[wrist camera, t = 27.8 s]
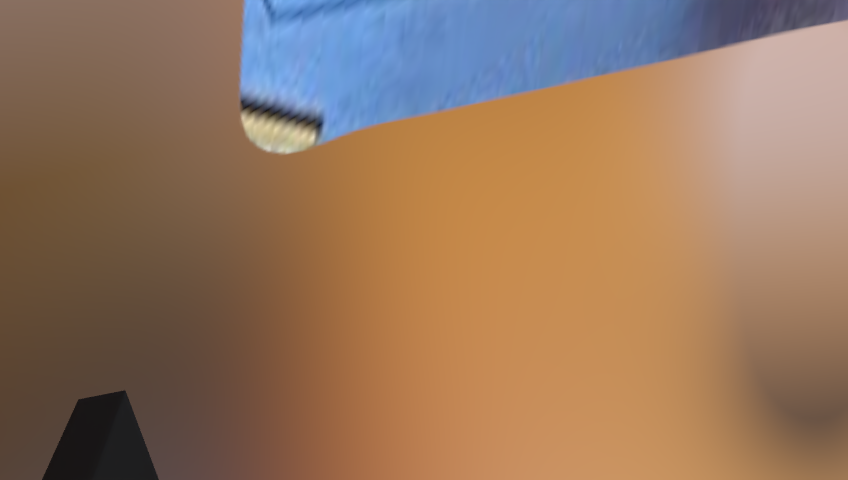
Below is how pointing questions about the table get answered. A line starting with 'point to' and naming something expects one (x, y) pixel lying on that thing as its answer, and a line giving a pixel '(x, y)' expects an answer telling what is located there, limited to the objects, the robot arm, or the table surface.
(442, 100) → the table surface
